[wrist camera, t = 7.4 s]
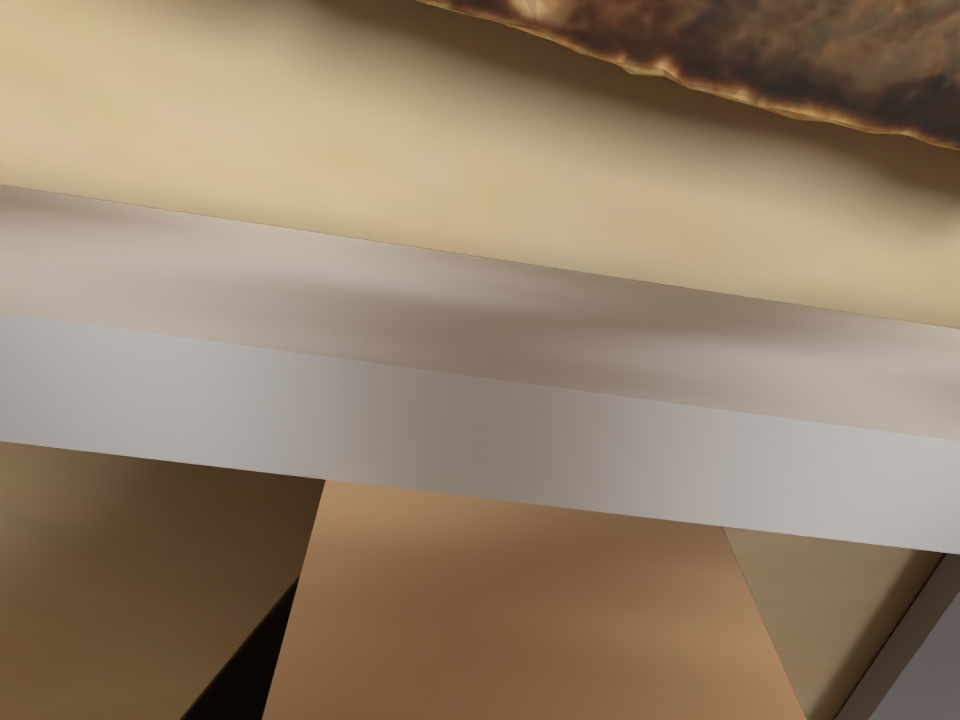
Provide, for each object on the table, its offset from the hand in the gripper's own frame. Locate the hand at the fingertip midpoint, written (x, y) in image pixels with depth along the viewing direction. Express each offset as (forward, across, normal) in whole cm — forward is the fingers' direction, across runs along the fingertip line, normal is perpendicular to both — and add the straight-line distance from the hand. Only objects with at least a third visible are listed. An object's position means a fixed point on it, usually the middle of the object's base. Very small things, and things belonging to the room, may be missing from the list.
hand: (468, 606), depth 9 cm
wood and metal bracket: (+1, 0, 0) cm, 1 cm away
